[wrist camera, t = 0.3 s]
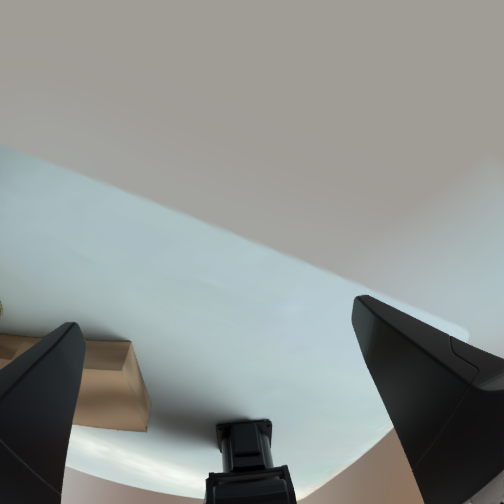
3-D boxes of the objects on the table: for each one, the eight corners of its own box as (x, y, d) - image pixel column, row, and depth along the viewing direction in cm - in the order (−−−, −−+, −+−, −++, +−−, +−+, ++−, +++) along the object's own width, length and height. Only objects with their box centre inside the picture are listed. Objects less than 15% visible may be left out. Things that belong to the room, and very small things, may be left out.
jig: (151, 403, 30) (146, 432, 26) (12, 387, 28) (1, 408, 24) (131, 341, 26) (122, 370, 23) (-17, 331, 25) (-33, 352, 21)
